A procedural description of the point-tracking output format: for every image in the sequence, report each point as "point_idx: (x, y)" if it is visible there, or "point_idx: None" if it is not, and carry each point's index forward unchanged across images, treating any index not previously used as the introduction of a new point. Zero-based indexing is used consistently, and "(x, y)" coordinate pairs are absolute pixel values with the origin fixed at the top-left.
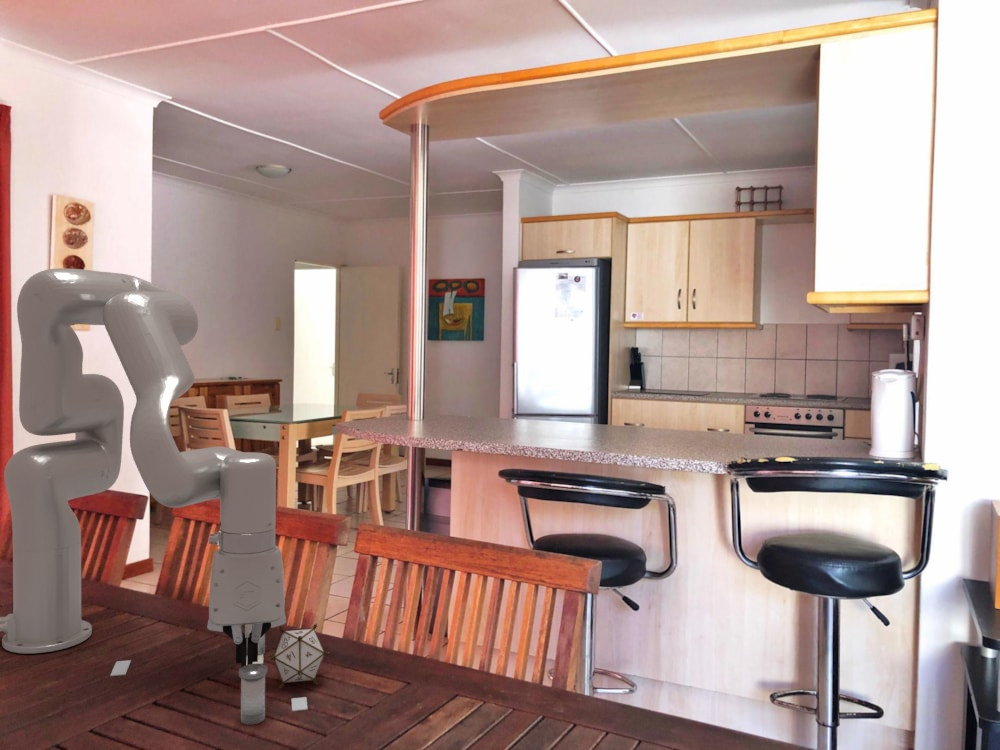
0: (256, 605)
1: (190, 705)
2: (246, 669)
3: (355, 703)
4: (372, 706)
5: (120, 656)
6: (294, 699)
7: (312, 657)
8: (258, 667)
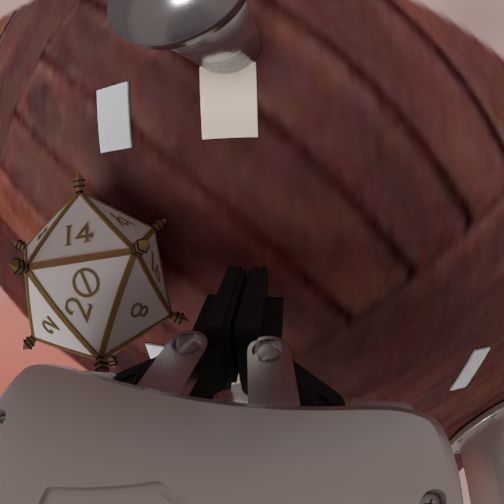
0: (80, 485)
1: (404, 175)
2: None
3: (29, 124)
4: (13, 114)
5: (452, 400)
6: (123, 140)
7: (41, 231)
8: (144, 5)
